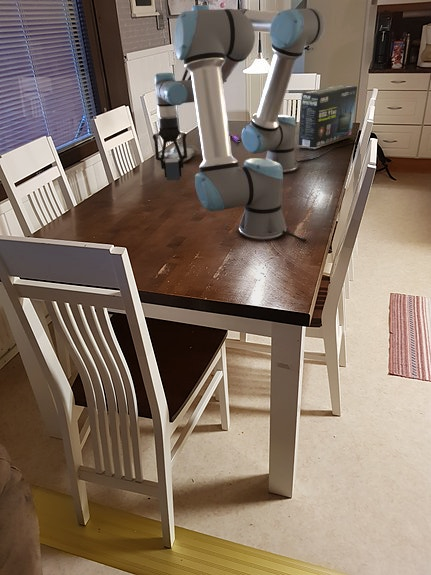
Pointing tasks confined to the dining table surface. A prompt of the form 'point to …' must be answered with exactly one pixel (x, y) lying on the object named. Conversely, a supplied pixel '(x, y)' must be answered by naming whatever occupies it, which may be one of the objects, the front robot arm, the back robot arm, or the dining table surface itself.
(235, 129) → the dining table surface
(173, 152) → the fossil
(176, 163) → the brick
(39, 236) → the dining table surface
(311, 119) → the router box
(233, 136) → the handgun
